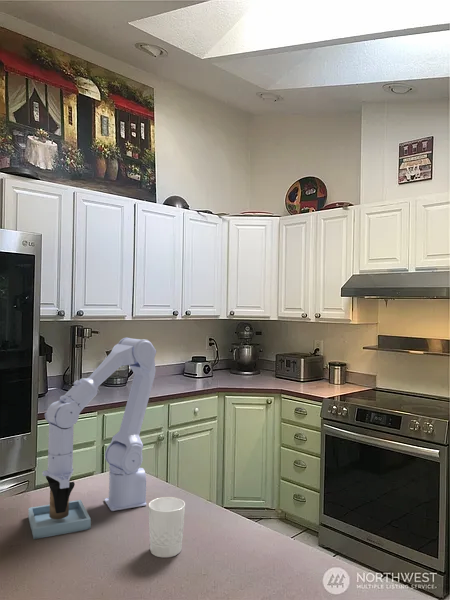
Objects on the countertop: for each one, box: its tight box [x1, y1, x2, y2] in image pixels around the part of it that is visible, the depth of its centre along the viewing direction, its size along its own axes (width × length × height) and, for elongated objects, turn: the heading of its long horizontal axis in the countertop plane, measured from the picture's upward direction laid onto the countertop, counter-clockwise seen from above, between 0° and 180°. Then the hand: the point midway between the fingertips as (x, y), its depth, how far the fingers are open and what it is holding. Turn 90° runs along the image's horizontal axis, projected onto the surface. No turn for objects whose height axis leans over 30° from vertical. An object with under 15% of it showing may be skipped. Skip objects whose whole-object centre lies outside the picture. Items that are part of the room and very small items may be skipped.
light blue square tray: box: [27, 499, 92, 540], centre depth 118 cm, size 13×13×2 cm
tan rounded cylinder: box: [49, 490, 70, 519], centre depth 118 cm, size 4×4×6 cm
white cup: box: [148, 496, 186, 559], centre depth 106 cm, size 8×8×10 cm
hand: (59, 508), depth 118 cm, fingers closed on tan rounded cylinder, 4 cm apart
